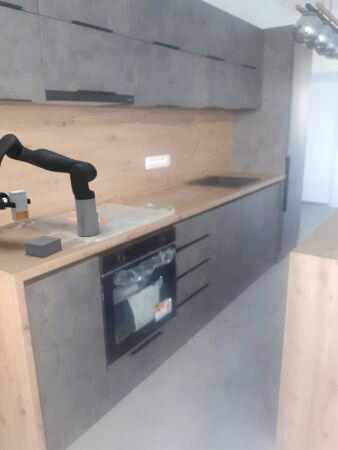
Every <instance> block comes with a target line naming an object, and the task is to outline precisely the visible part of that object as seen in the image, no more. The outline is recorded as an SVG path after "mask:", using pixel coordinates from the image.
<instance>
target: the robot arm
mask: <svg viewBox="0 0 338 450" xmlns="http://www.w3.org/2000/svg"><path fill="white" fill-rule="evenodd" d="M5 156H6V157H8V158H9V159H11V160H14V161H18V162H22V163H27V164H30V165H32V166H36V167H38V168H40V169H43V170H46V171H47V172H48V171H49V172H53V173H61V174H69V181H70V186H71V191H72V194H73V196H74V204H75V213H76V224H77V225H76V226H77V232H78V233H77V234H78V237H84V238H85V237H86V238H87V237H93V236H96V235H98V234H99V233H100V222H99V213H98V211H97V203H96V193H95V190H91V189H90V186H89V185H90V184H89V183H91V182H93V181H94V180H95V179H96V178H97V176H98V170H97V168H96V166H94V164H92V163H90V162H88V161H83V160H79V159H74V158H71V157H68V156H66V155H64V154H60V153H57V152H55V151H52V150H49V149H47V148H38V149H34V150H33V149H30V148H27V147H26V146H24V145H23V143H22V142H21V141H20V139H19V137H18V136H16V135H15V134H13V133H7V134H5V135H3V136H2V137H1V138H0V167H1V166H2V163H3V160H4V158H5ZM27 204H28V205H31V198H27ZM8 208H9V209H11V208H16V204H15V203H14V202H10V198H9V194H8V193H5V192H0V211H4V210H6V209H8Z"/></svg>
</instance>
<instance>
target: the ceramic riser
mask: <svg viewBox="0 0 338 450" xmlns="http://www.w3.org/2000/svg"><path fill="white" fill-rule="evenodd" d="M23 245H24V251H25V255H27V256H33V257H37V258H44V259H45V258H46V257H49V256H51V255H53V254H56V253H58V252H60V251H62V250H63V247H62V240H61V238H60V237H54V236H47V235H41V236H38V237H35V238H33V239H30V240H27V241H25V242H23Z"/></svg>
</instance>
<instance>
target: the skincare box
mask: <svg viewBox="0 0 338 450" xmlns="http://www.w3.org/2000/svg"><path fill="white" fill-rule="evenodd" d="M8 196H9V198H10V202H14V203H15V204H16V208H10V211H11V212H10V213H11V217H12V220H13V221H14V222H18V221H19V222H20V221H25V220H30V213H29V204H27V199H28V197H27V196H28V195H27V191H26V190H24V189H19V190H12V191H8Z"/></svg>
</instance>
